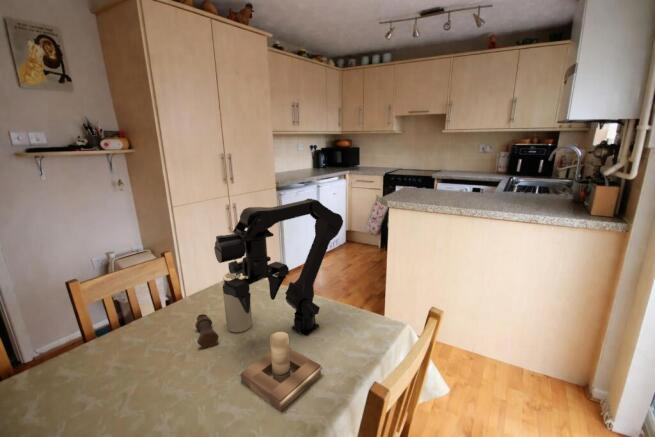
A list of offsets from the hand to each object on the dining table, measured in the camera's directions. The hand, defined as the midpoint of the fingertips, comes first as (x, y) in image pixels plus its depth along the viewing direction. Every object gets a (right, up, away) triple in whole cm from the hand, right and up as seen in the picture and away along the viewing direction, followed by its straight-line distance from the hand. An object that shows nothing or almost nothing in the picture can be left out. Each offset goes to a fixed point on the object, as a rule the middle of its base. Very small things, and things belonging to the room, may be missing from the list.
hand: (260, 305), depth 88 cm
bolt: (-19, -12, +9) cm, 24 cm away
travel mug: (-10, -11, +13) cm, 19 cm away
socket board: (+8, -16, -10) cm, 20 cm away
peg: (+8, -16, -10) cm, 20 cm away
